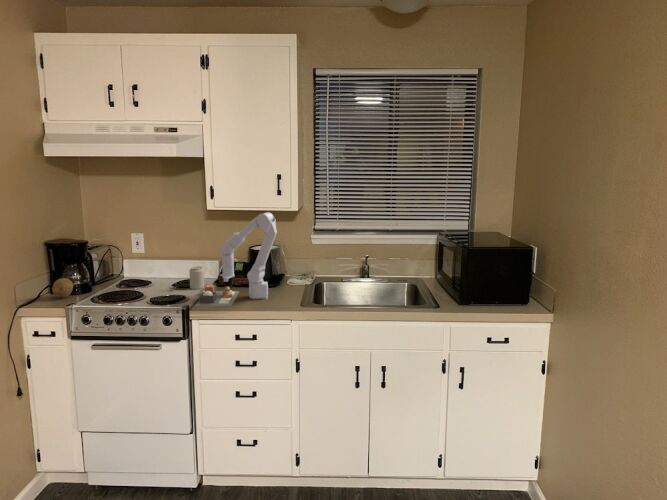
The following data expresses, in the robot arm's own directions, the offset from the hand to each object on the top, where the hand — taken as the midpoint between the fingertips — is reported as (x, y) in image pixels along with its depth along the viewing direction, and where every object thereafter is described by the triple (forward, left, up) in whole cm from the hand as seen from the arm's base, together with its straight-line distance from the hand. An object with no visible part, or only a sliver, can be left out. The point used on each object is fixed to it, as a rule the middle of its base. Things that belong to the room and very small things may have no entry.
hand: (228, 292), depth 239 cm
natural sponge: (+81, +4, -3) cm, 81 cm away
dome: (+8, +11, -1) cm, 14 cm away
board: (+4, +6, -2) cm, 8 cm away
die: (+10, -2, -1) cm, 10 cm away
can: (+20, -15, -3) cm, 25 cm away
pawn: (0, +4, -1) cm, 4 cm away
